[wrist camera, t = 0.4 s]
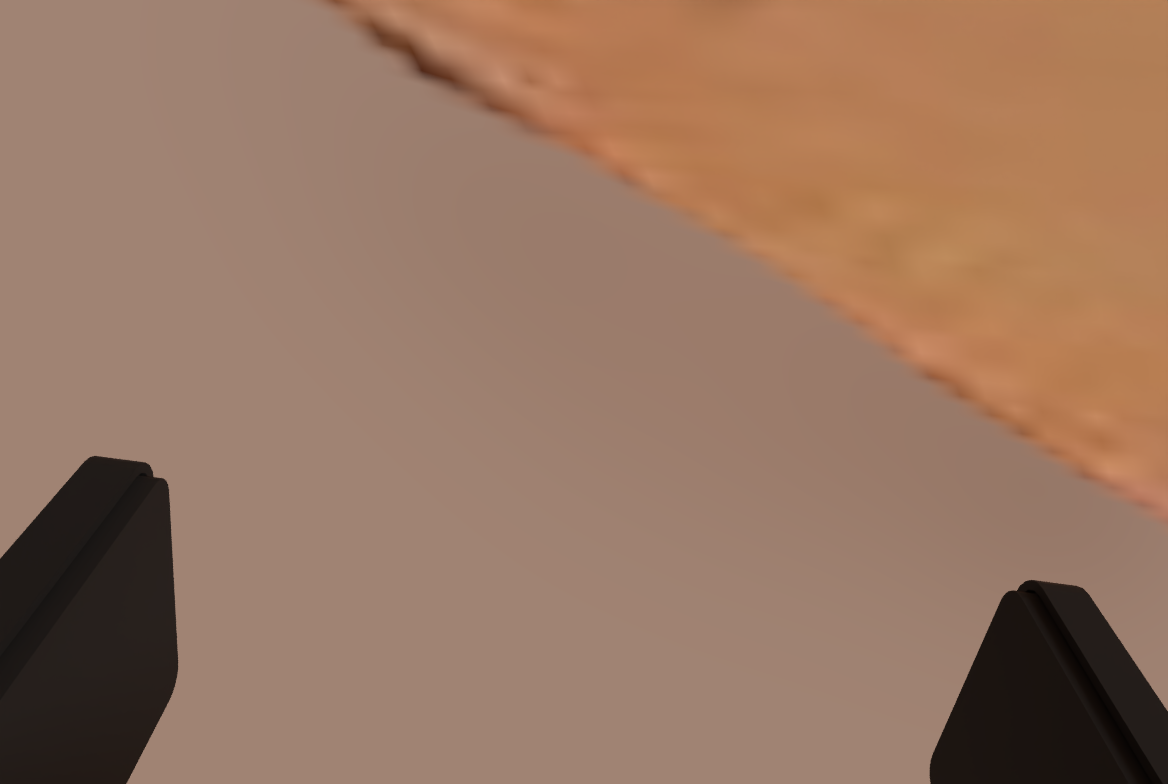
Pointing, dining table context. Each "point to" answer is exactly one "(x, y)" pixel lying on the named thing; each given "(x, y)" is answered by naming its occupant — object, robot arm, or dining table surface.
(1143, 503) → the dining table surface
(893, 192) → the dining table surface
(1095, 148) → the dining table surface
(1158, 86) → the dining table surface
